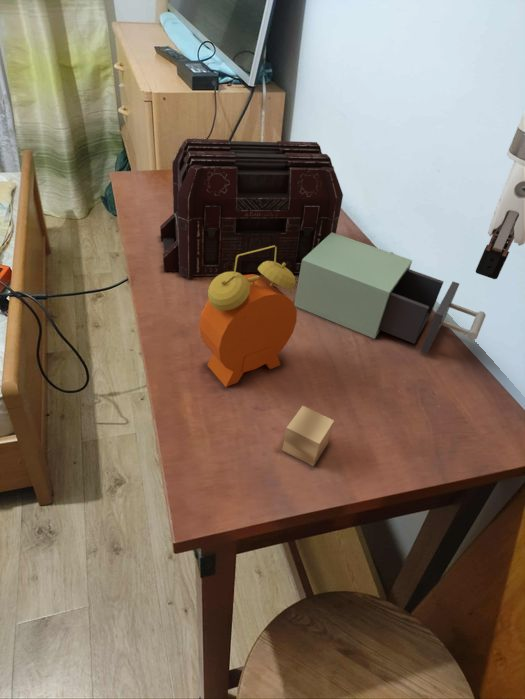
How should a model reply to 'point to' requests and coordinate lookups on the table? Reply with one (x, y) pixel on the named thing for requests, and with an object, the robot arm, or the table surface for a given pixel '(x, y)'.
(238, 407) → the table surface
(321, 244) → the cabinet
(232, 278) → the alarm clock
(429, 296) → the drawer
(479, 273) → the robot arm
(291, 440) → the block
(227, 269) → the crate
